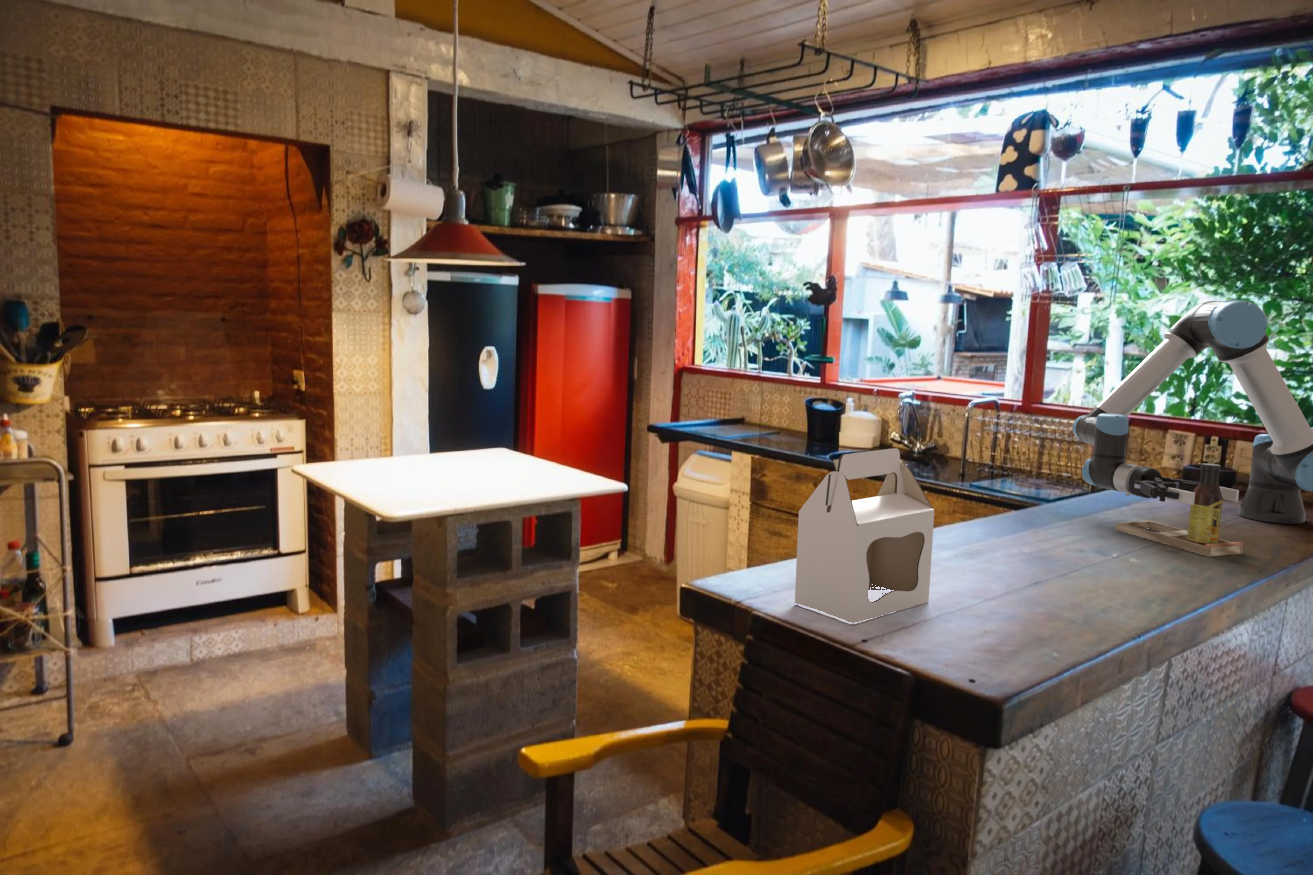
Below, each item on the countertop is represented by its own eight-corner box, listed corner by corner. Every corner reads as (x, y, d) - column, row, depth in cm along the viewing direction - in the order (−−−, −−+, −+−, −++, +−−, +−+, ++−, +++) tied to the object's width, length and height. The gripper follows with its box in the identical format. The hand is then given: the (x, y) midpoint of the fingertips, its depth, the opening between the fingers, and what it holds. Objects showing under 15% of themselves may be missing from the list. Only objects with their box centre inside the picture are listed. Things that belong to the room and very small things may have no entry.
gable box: (871, 585, 175) (879, 442, 171) (929, 602, 165) (939, 451, 161) (792, 605, 161) (799, 451, 157) (851, 626, 151) (860, 461, 147)
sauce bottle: (1215, 553, 205) (1225, 467, 202) (1184, 548, 209) (1193, 464, 206) (1218, 548, 210) (1228, 464, 207) (1188, 543, 214) (1197, 461, 211)
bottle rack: (1148, 527, 229) (1149, 518, 229) (1242, 553, 205) (1243, 542, 205) (1116, 530, 226) (1117, 520, 226) (1208, 556, 202) (1209, 545, 202)
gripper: (1174, 493, 230) (1253, 510, 210) (1098, 497, 222) (1172, 516, 202) (1177, 464, 229) (1256, 479, 209) (1100, 467, 221) (1176, 483, 201)
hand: (1215, 497), depth 206 cm, fingers open, 13 cm apart
